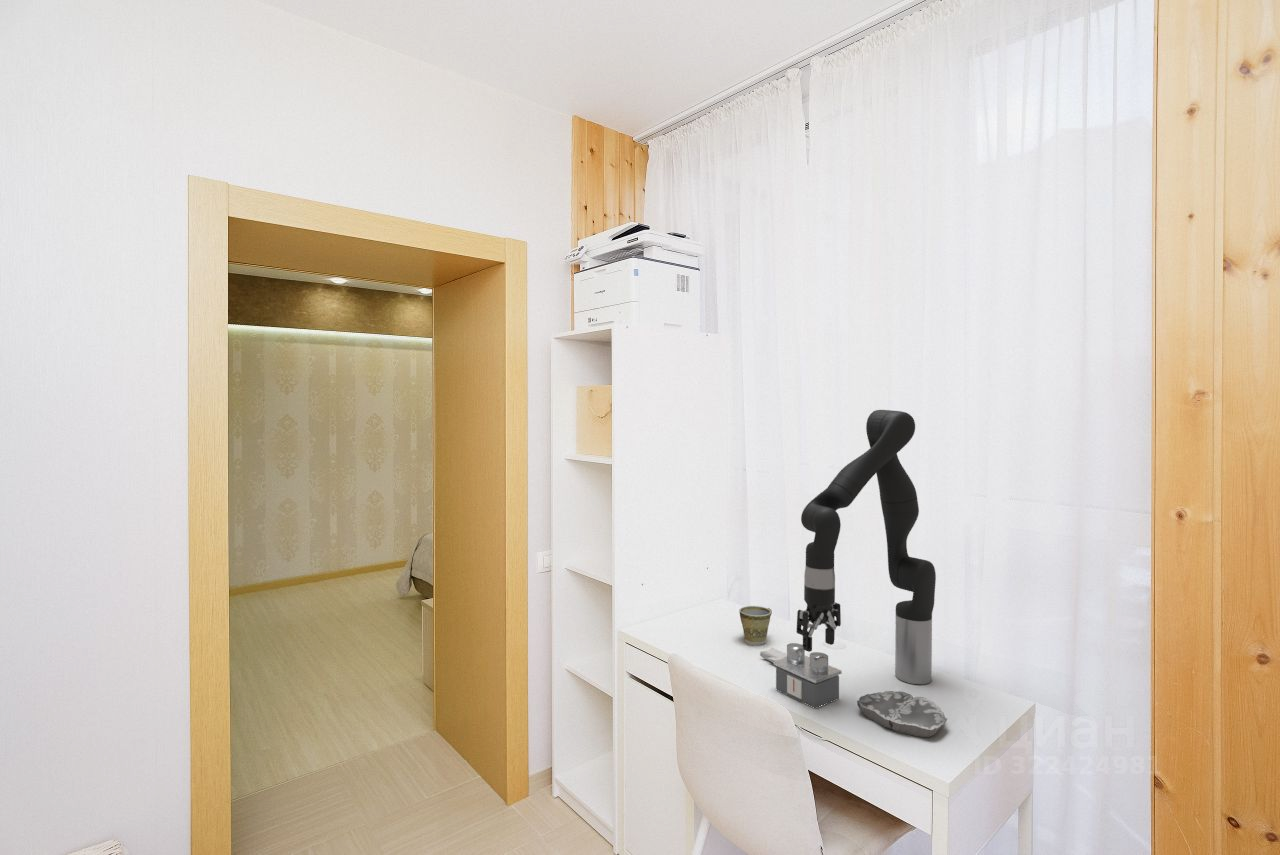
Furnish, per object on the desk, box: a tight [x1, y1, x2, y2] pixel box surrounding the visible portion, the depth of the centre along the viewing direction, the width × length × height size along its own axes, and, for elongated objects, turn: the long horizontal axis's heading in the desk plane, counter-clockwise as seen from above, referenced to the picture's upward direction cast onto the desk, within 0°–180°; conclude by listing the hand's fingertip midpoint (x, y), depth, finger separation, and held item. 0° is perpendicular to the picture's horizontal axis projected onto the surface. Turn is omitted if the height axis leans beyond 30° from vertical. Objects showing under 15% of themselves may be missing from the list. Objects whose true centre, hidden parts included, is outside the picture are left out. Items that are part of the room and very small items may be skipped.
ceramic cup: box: [738, 605, 773, 646], centre depth 201 cm, size 13×10×10 cm
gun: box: [759, 647, 787, 664], centre depth 180 cm, size 18×3×10 cm
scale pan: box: [773, 655, 843, 684], centre depth 163 cm, size 14×10×1 cm
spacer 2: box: [809, 651, 829, 675], centre depth 159 cm, size 5×5×4 cm
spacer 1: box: [786, 642, 806, 665], centre depth 166 cm, size 5×5×4 cm
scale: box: [775, 666, 840, 709], centre depth 163 cm, size 13×10×6 cm
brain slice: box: [856, 690, 948, 738], centre depth 150 cm, size 20×17×3 cm
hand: (818, 647), depth 159 cm, fingers open, 8 cm apart
